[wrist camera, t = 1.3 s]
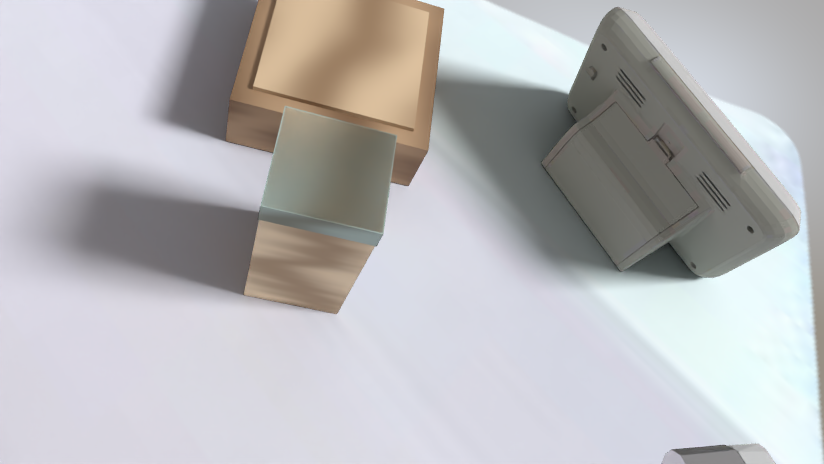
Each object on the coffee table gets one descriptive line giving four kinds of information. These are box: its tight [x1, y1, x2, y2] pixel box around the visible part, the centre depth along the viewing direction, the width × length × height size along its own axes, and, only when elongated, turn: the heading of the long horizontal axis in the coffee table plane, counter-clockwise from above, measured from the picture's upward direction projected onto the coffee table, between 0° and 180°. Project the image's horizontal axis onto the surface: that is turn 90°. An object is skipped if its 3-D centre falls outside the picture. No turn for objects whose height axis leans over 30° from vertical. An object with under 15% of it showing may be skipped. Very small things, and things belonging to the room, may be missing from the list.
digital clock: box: [541, 7, 801, 278], centre depth 42 cm, size 16×9×11 cm, turn 22°
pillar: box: [244, 106, 397, 314], centre depth 34 cm, size 5×5×10 cm
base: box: [226, 0, 444, 186], centre depth 42 cm, size 11×11×4 cm
